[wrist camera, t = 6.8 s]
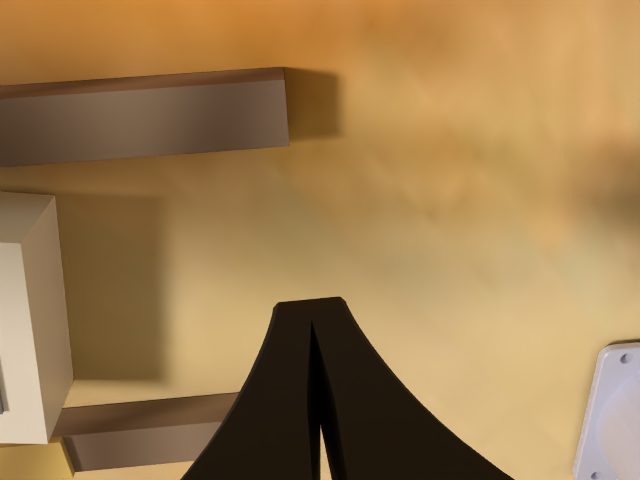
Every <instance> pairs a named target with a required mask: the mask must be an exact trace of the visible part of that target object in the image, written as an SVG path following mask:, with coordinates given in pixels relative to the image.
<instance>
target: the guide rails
mask: <svg viewBox="0 0 640 480" xmlns="http://www.w3.org/2000/svg"><path fill="white" fill-rule="evenodd" d="M285 146H290V145H289V132H288V119H287V106H286V93H285V80H284V70H283V67H273V68H259V69H244V70H229V71H214V72H199V73H185V74H170V75H155V76H140V77H126V78H111V79H96V80H81V81H67V82H52V83H37V84H22V85H8V86H0V167H13V166H26V165H40V164H54V163H67V162H81V161H94V160H108V159H122V158H135V157H149V156H163V155H176V154H190V153H203V152H217V151H231V150H244V149H258V148H271V147H285ZM238 394H239V393H231V394H220V395H209V396H198V397H187V398H176V399H165V400H154V401H143V402H131V403H120V404H109V405H98V406H87V407H76V408H65V409H62V410H61V413H60V415H59V418H58V420H57V423H56V425H55V427H54V430H53V432H52V435H51V437H50V440H49V442H48V444H21V443H0V480H61V479H71V478H73V477H74V474H75V472H81V471H92V470H102V469H113V468H123V467H134V466H144V465H155V464H165V463H176V462H186V461H195V460H196V459H197V458H198V456H199V455H200V454H201V452H202V451H203V450H204V448H205V447H206V446H207V444H208V443H209V441H210V440H211V438H212V437H213V435H214V434H215V432H216V431H217V429H218V428H219V426H220V425H221V423H222V422H223V420H224V419H225V417H226V415H227V414H228V412H229V410H230V409H231V407H232V405H233V403H234V402H235V400H236V398H237V396H238Z"/></svg>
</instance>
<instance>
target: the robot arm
mask: <svg viewBox="0 0 640 480" xmlns="http://www.w3.org/2000/svg"><path fill="white" fill-rule="evenodd" d="M625 354H626V355H625ZM623 355H625V356H623ZM622 356H623V357H622ZM320 424H321V429H322V434H323V439H324V444H325V448H326V453H327V458H328V463H329V468H330V473H331V478H332V480H515V479H513V478H512V477H510V476H509V475H507V474H506V473H504V472H503V471H501V470H500V469H499V468H497V467H496V466H495V465H493V464H492V463H491V462H489V461H488V460H487V459H485V458H484V457H483V456H481V455H480V454H479V453H478V452H476V451H475V450H474V449H472V448H471V447H470V446H468V445H467V444H466V443H464V442H463V441H462V440H461V439H460V438H458V437H457V436H456V435H455V434H454V433H453V432H452V431H450V430H449V429H448V428H447V427H446V426H445V425H444V424H442V423H441V422H440V421H439V420H438V419H437V418H436V417H435V416H434V415H433V414H432V413H431V412H430V411H429V410H427V409H426V408H425V407H424V406H423V405H422V404H421V403H420V402H419V401H418V400H417V398H416V397H415V396H414V395H413V394H412V393H411V392H410V391H409V390H408V389H407V388H406V387H405V385H404V384H403V383H402V382H401V381H400V380H399V379H398V378H397V376H396V375H395V374H394V373H393V372H392V370H391V369H390V368H389V367H388V366H387V364H386V363H385V362H384V360H383V359H382V358H381V357H380V355H379V354H378V353H377V351H376V350H375V349H374V347H373V346H372V345H371V343H370V342H369V340H368V339H367V338H366V336H365V335H364V333H363V332H362V330H361V329H360V327H359V325H358V324H357V322H356V321H355V319H354V317H353V315H352V314H351V312H350V310H349V308H348V306H347V304H346V301H345V300H344V299H342V298H341V297H329V298H319V299H308V300H298V301H288V302H278V303H277V304H276V306H275V307H274V308H273V313H272V317H271V321H270V324H269V328H268V331H267V333H266V336H265V339H264V341H263V344H262V347H261V349H260V351H259V353H258V356H257V358H256V360H255V362H254V365H253V367H252V369H251V371H250V373H249V375H248V377H247V379H246V381H245V383H244V385H243V387H242V389H241V390H240V392H239V394H238V396H237V398H236V400H235V402H234V403H233V405H232V407H231V409H230V410H229V412H228V414H227V415H226V417H225V419H224V420H223V422H222V423H221V425H220V426H219V428H218V429H217V431H216V432H215V434H214V435H213V437H212V438H211V440H210V441H209V443H208V444H207V446H206V447H205V448H204V450H203V451H202V452H201V454H200V455H199V456H198V458H197V459H196V460H195V462H194V463H193V464H192V466H191V467H190V468H189V470H188V471H187V472H186V473H185V475H184V476H183V477H182V478H181V479H180V480H320ZM572 474H573V476H574V478H575V480H640V342H636V343H625V344H614V345H609V346H606V347H605V348H603V349H602V350H601V351H600V353H599V356H598V360H597V364H596V369H595V373H594V378H593V382H592V386H591V391H590V395H589V400H588V404H587V408H586V413H585V417H584V422H583V426H582V430H581V435H580V439H579V444H578V448H577V453H576V457H575V461H574V466H573V470H572Z"/></svg>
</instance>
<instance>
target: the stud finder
mask: <svg viewBox="0 0 640 480" xmlns="http://www.w3.org/2000/svg"><path fill="white" fill-rule="evenodd" d="M73 380H74V377H73V367H72V357H71V348H70V338H69V328H68V318H67V308H66V298H65V289H64V279H63V269H62V259H61V249H60V240H59V230H58V220H57V210H56V200H55V195H43V194H28V193H14V192H0V443H21V444H48V442H49V440H50V437H51V435H52V432H53V430H54V427H55V425H56V423H57V420H58V418H59V415H60V413H61V410H62V408H63V405H64V403H65V400H66V398H67V395H68V393H69V390H70V388H71V385H72V383H73Z"/></svg>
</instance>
